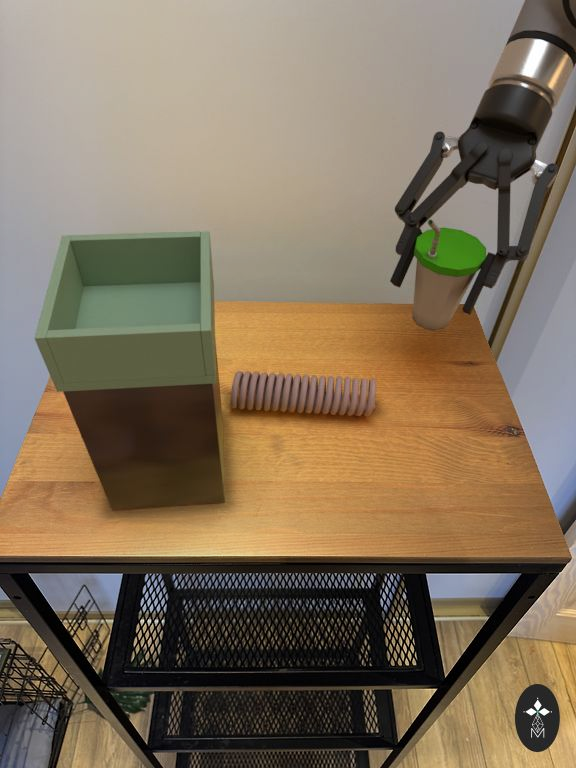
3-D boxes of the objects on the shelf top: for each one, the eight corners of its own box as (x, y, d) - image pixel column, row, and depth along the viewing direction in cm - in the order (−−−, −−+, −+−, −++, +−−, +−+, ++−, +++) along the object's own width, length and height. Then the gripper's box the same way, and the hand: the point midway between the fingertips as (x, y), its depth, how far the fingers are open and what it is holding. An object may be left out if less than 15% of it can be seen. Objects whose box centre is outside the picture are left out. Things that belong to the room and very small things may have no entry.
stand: (222, 415, 70) (210, 286, 55) (225, 502, 62) (212, 381, 47) (121, 421, 69) (81, 291, 53) (111, 510, 61) (61, 389, 46)
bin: (213, 284, 55) (209, 230, 50) (216, 383, 47) (211, 330, 42) (78, 289, 54) (61, 235, 49) (56, 392, 45) (34, 338, 41)
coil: (379, 370, 69) (231, 362, 69) (382, 397, 66) (226, 388, 66) (374, 398, 72) (232, 389, 73) (376, 425, 69) (227, 416, 69)
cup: (456, 298, 73) (491, 190, 62) (468, 341, 68) (509, 232, 56) (395, 296, 73) (418, 188, 61) (402, 339, 68) (430, 230, 56)
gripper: (613, 140, 61) (519, 336, 64) (433, 93, 68) (355, 272, 71) (627, 107, 54) (521, 329, 57) (425, 58, 61) (339, 259, 64)
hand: (429, 297), depth 64 cm, fingers closed on cup, 8 cm apart
